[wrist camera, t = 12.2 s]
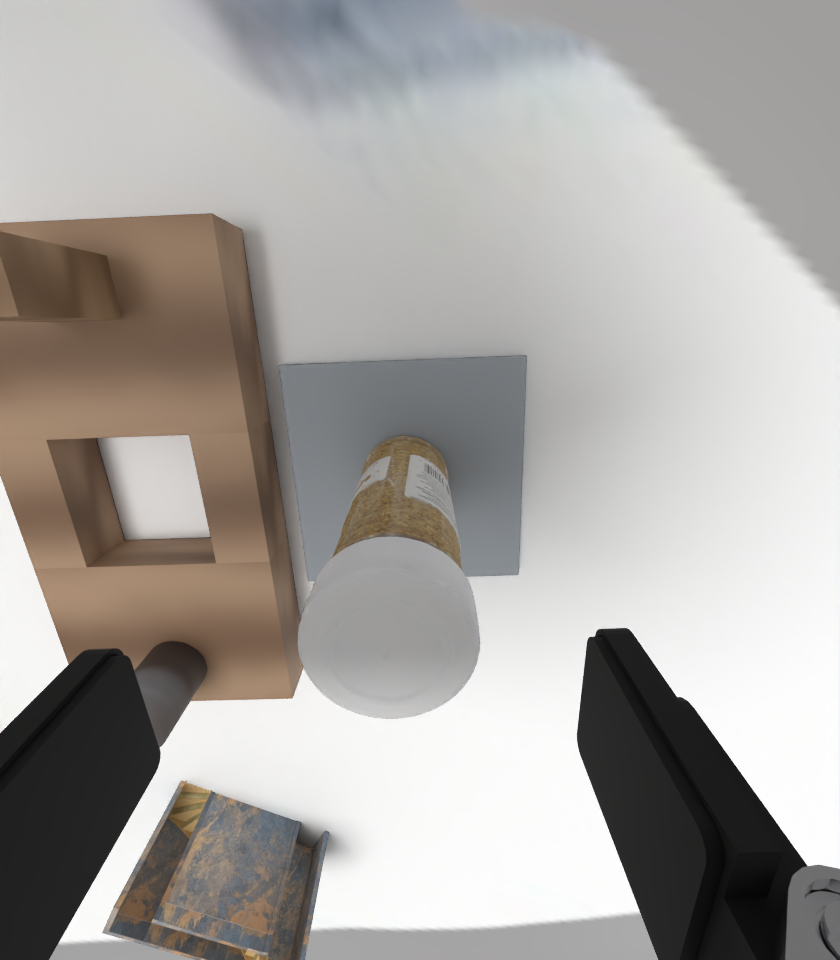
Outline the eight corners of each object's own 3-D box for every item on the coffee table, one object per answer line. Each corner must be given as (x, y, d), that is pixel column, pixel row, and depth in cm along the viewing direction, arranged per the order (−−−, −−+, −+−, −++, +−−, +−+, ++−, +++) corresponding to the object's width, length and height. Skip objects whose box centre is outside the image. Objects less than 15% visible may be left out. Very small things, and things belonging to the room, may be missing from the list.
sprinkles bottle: (352, 445, 23) (265, 594, 10) (438, 425, 22) (461, 552, 10) (376, 524, 24) (326, 742, 12) (457, 506, 24) (498, 710, 11)
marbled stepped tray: (332, 821, 33) (297, 1010, 24) (316, 846, 34) (277, 1037, 25) (185, 770, 32) (89, 952, 23) (173, 797, 33) (75, 983, 23)
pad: (281, 364, 22) (278, 365, 22) (524, 355, 22) (526, 355, 21) (310, 576, 26) (308, 581, 25) (516, 570, 26) (518, 574, 25)
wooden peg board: (-19, 241, 20) (-279, 190, 13) (241, 229, 20) (132, 170, 13) (117, 665, 28) (4, 789, 21) (305, 660, 28) (261, 784, 20)
